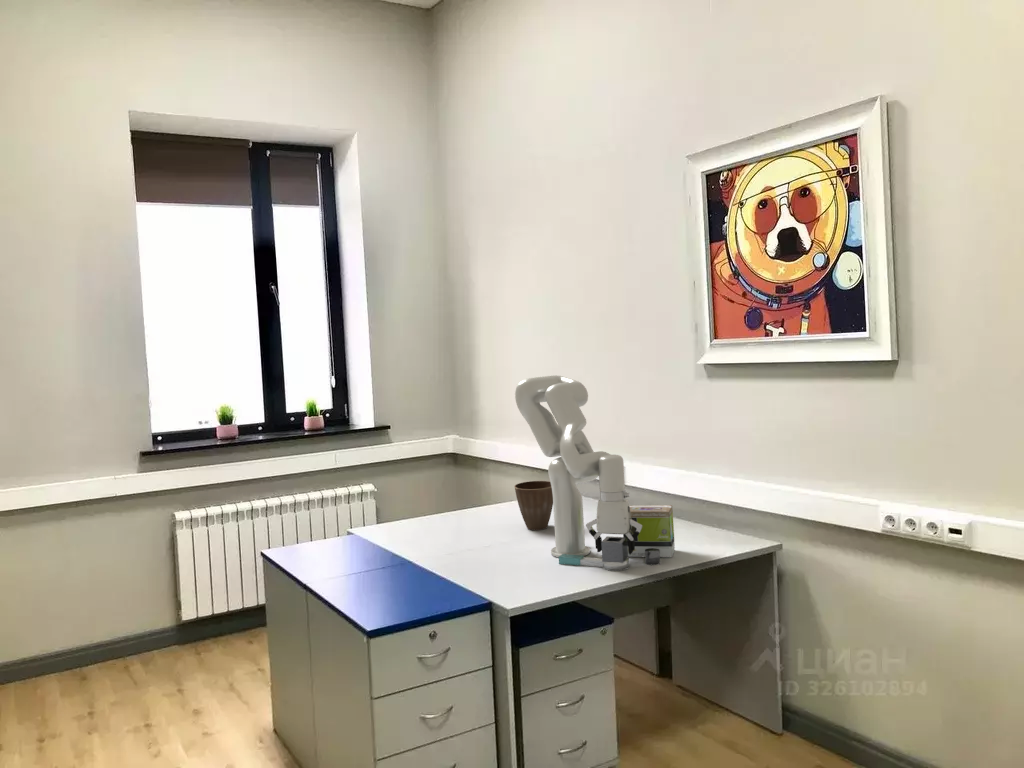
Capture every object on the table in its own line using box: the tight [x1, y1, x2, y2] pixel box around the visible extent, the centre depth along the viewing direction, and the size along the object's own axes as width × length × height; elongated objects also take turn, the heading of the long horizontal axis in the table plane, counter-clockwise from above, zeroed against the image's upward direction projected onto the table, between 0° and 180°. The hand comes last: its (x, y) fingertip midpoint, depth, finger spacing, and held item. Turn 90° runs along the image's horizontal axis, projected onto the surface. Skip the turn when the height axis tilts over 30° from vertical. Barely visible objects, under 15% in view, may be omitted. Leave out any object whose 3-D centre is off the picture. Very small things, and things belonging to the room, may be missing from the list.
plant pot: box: [514, 480, 554, 531], centre depth 306 cm, size 15×15×16 cm
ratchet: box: [558, 554, 630, 572], centre depth 256 cm, size 22×8×6 cm, turn 64°
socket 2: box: [644, 548, 661, 566], centre depth 255 cm, size 4×4×4 cm
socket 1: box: [601, 536, 629, 563], centre depth 252 cm, size 6×6×6 cm
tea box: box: [622, 504, 676, 558], centre depth 265 cm, size 15×10×15 cm
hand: (615, 551), depth 252 cm, fingers open, 9 cm apart
